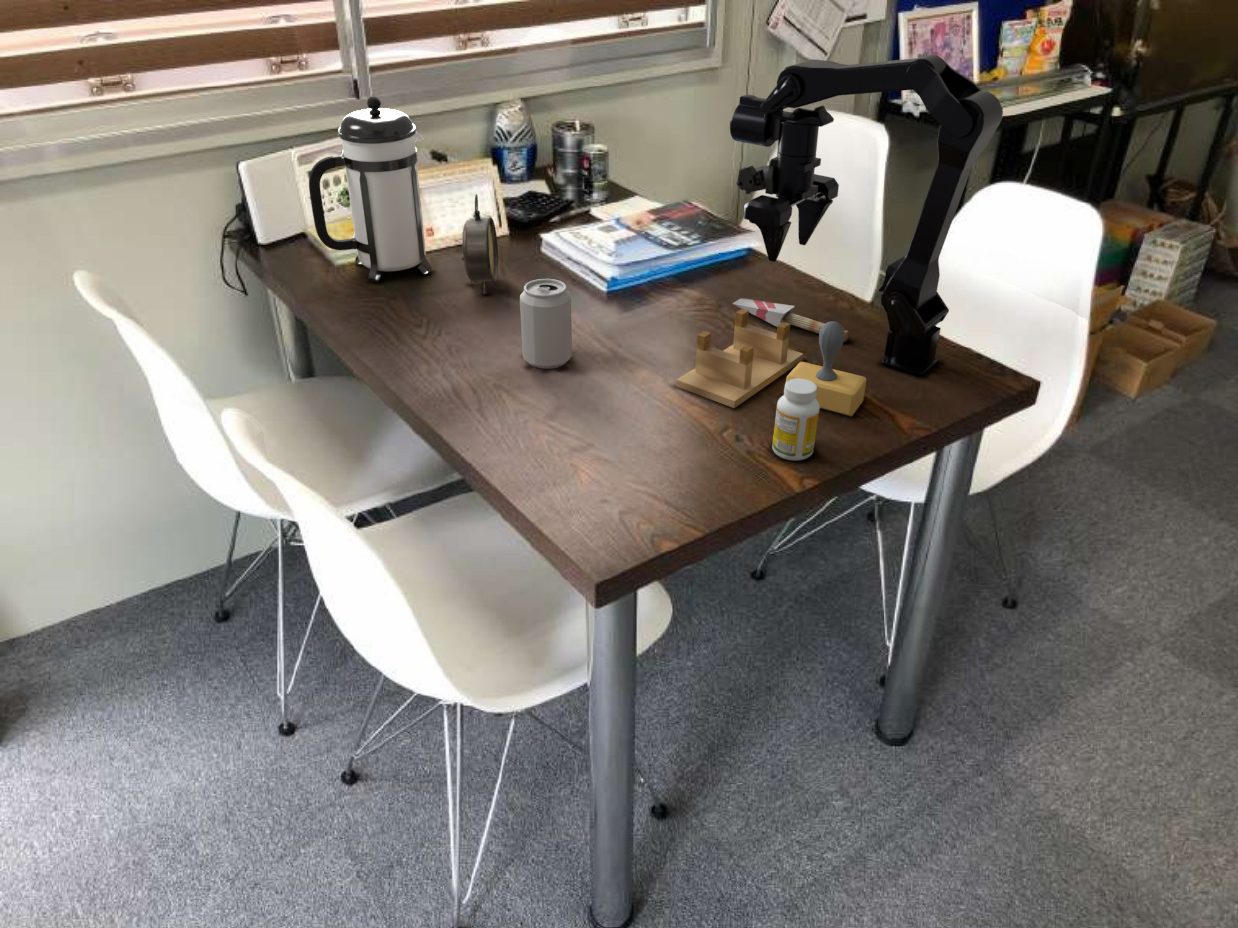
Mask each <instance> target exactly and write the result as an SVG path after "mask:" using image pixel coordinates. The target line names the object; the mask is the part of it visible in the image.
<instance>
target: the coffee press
mask: <svg viewBox="0 0 1238 928" xmlns="http://www.w3.org/2000/svg"><path fill="white" fill-rule="evenodd" d="M366 105H367V107H368V108H366V109H365V108H364V109H361V110H356V111H353V112H351V113H349V114H347V115H346V116H345V117H344V118H343V119H342V120H341V123H340V127H339V128H338V129H337V135H338V137H339V139H340V141H341V146H342V153H341V156H333V155H331V156H327V157H324V158H322V159H320V160H318V161H317V162H316V163H315V164H314V165H313V167H312V168H311V170H310V173H309V176H308V191H309V199H310V205H311V211H312V217H313V218H312V219H313V223H314V224H313V225H314V228H315V232H316V234H317V236H318V238H319V240H320V241H321V243H322V244H323V245H324V246H325V247H326V248H329V249H331V250H334V251H350V250H356V252H357V255H356V257H355V258H354V261H355V263H356V264H357V265H358V266H362V265H363V266H364V267H366V268H368V269H370V270H369V273H368V281H369V282H370V283H377V284H378V283H379V282H380V281H381V277H382V275H383V273H384V272H398V271H404V270H409V269H411V268H417V269H418V271H419V272H420V273H421V274H423V275H428V274H429V273H431V272H432V270H433V268H432V265H431V264H430V262H429V261H428V259H427V258H426V242H425V241H426V240H425V230H424V221H423V210H422V200H421V190H420V181H419V180H420V179H419V170H418V169H419V168H418V161H419V157H418V148H417V147H416V143H417V142H423V141H425V138H424V137H423V136H422V134H421V133H419V132H418V131H417V127H416V125H415V124H414V123H413V122H412V119H411V118H410V117H409V116H408V115H407V114H406V113H404V112H402V111H400V110H396V109H392V108H391V109H390V108H383V107H382V108H381V105H382V101H381V99H380V98H379V97H377V96H374V95H372V96H369V98H368V99H367V100H366ZM337 167H344V168H345V174H346V182H347V189H348V197H349V203H350V204H349V205H350V210H351V218H352V226H353V231H354V232H353V233H354V234H353V237H351V238H346V239H336V238H333V237H332V236H331V235H330V234H329V232H328V230H327V229H328V228H327V224H326V218H325V210H324V204H323V198H322V191H321V179H322V177H323V175H324V174H325V172H327V171H329V170H331V169H336V168H337ZM421 263H422V264H423V265H424V266H423V265H422V264H421Z"/></svg>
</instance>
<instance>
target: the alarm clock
mask: <svg viewBox="0 0 1238 928" xmlns="http://www.w3.org/2000/svg"><path fill="white" fill-rule="evenodd" d="M473 214H474V217H469V218H467V219H466V221H465V222H464V224H463V227H462V233H461V234H462V238H461V239H462V241H461V242H462V245H461V246H462V257H461V260H462V261H463V265H464V269H465V272H466V275H467V277H468V279H469V280H470V282H469V284H468V285H471V283H474V284H476V283H478V284H479V283H482V289H483V292H482V294H483V296H487V295H488V292H487V290H488V283H495V282H496V281H497V280H498V276H499V243H498V237H497V236H498V235H497V230H496V225H495V221H494V218H492V217H491V216H481V215H480V214H481V212H480V210H479V198H478V193H475V194H474V212H473Z"/></svg>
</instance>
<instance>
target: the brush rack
mask: <svg viewBox="0 0 1238 928" xmlns="http://www.w3.org/2000/svg"><path fill="white" fill-rule="evenodd" d="M749 314H750V313H749V311H748V310H745V309H742V308H740V309H739V310H737V311H735V319H734V320H735V321H734V332H733V333H734V335H733V344H731V345H730V346H728V347H727V348H725V349H724V350H721V349H718V348H715V347H712V345H711V343H712V332H710V331H707V330H702V331H701V332H700V333H698V334H697V339H696V353H695V354H696V356H695V367H694V368H693V369H691V370H690V371H688V372H686V373H685V374H683V375H682V376H680V377H678V378H676V381H675V382H676V387H677V388H679V389H681V390H683V391H686V392H690V393H692V394H694V395H698V396H701V397H703V398H705V399H708V400H711V401H714V402H717V403H719V404H722V405H724V406H727V407H728V408H732V409H735V408H737V407H738V406H740V405H741V404H743V403H744V402H746V401H747V400H749V399H750V398H751V397H752V396H754V395H755V394H757V393H758V392H760V391H762V390H763V389H764V388H766V387H767V386H768V385H770V384H771V383H773V382H774V381H776V380H777V379H778V378H780V377H781V376H783V375H784V374H786V373H787V372H788V371H790V370H791V369H794V368H795V367H796V366H797V365H798V364H799V362H804V361H803V360H804V353H803V352H799V351H796V350H793V349H790V348H789V344H790V334H791V326H792V325H791V324H790V323H787V322H783V323H781V324H779V325H778V327H776V332H774V331H771V330H767V329H765V328H761V327H758V326H755V325H752V324H749Z"/></svg>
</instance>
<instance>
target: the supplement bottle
mask: <svg viewBox="0 0 1238 928" xmlns="http://www.w3.org/2000/svg"><path fill="white" fill-rule="evenodd" d="M816 393H817V386H816V384H815V383H813V382H812V381H809V380H806V379H791V380H789V381H787V382H786V381H785V384H784V389H783V395H782V396H781V397H779V398H778V400H777V403H776V409H775V410H776V411H775V418H774V428H773V435H772V445H771V447H772V451H773V452H774V454H775V455H776V456H777V457H779V458H781V459H784V460H786V461H803V460H806V459H808V458H810V457H811V456H812V455H813V453H814V450H815V442H816V436H817V435H816V434H817V428H818V422H819V416H820V409H821V408H820V406H819V403H818V401H817V400H816V399H815V397H816Z"/></svg>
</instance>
